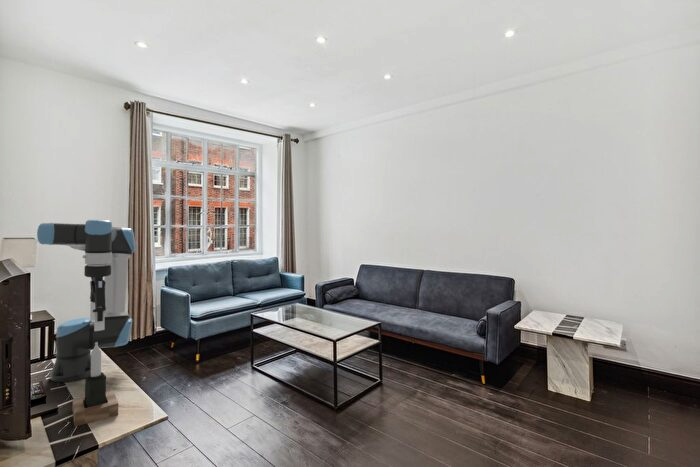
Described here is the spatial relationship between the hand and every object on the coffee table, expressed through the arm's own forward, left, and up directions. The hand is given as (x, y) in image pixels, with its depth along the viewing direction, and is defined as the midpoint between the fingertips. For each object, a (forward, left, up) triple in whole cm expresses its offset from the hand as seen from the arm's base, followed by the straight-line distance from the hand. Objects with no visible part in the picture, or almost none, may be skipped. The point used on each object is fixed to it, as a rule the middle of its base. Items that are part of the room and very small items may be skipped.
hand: (97, 325), depth 122 cm
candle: (0, 0, -31) cm, 31 cm away
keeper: (0, 0, -31) cm, 31 cm away
